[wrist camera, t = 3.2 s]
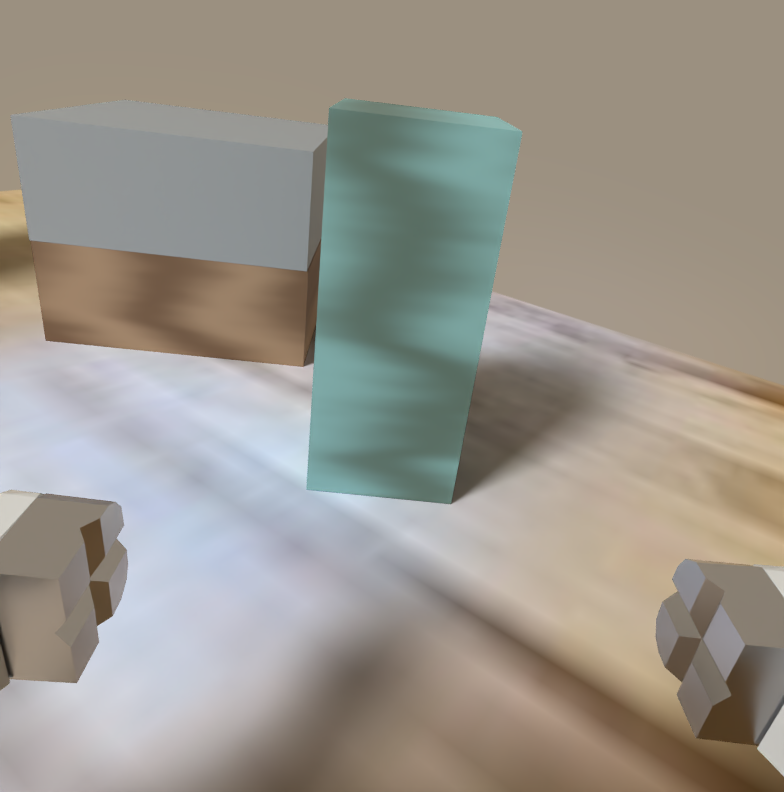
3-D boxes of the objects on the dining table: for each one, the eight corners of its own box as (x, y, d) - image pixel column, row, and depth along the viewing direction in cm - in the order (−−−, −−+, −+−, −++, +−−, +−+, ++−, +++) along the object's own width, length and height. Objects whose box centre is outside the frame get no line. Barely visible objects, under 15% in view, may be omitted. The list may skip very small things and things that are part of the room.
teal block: (443, 429, 26) (497, 117, 21) (451, 503, 22) (522, 131, 16) (322, 417, 26) (345, 98, 21) (306, 489, 22) (328, 107, 16)
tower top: (331, 214, 39) (337, 126, 36) (306, 271, 28) (313, 151, 26) (131, 191, 38) (124, 99, 36) (29, 240, 27) (10, 115, 25)
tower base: (326, 292, 41) (331, 214, 39) (302, 372, 30) (308, 271, 28) (138, 272, 40) (132, 191, 38) (46, 346, 30) (30, 240, 27)
